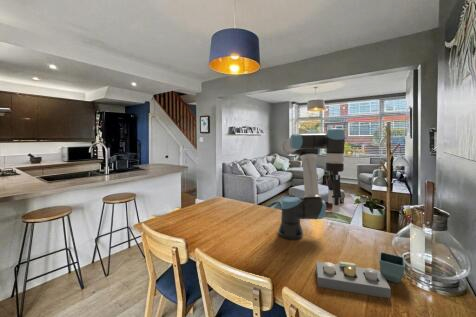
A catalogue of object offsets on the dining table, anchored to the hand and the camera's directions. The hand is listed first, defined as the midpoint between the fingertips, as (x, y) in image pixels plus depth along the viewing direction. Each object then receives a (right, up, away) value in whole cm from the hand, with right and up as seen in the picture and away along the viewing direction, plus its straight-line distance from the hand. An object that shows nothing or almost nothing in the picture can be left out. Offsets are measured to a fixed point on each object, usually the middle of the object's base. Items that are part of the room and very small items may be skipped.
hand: (333, 207), depth 102 cm
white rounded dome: (+10, -28, -12) cm, 33 cm away
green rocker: (+4, -25, -6) cm, 26 cm away
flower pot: (+22, -30, -7) cm, 38 cm away
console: (+3, -30, -10) cm, 31 cm away
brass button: (+2, -28, -10) cm, 30 cm away
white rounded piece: (-5, -28, -8) cm, 30 cm away
